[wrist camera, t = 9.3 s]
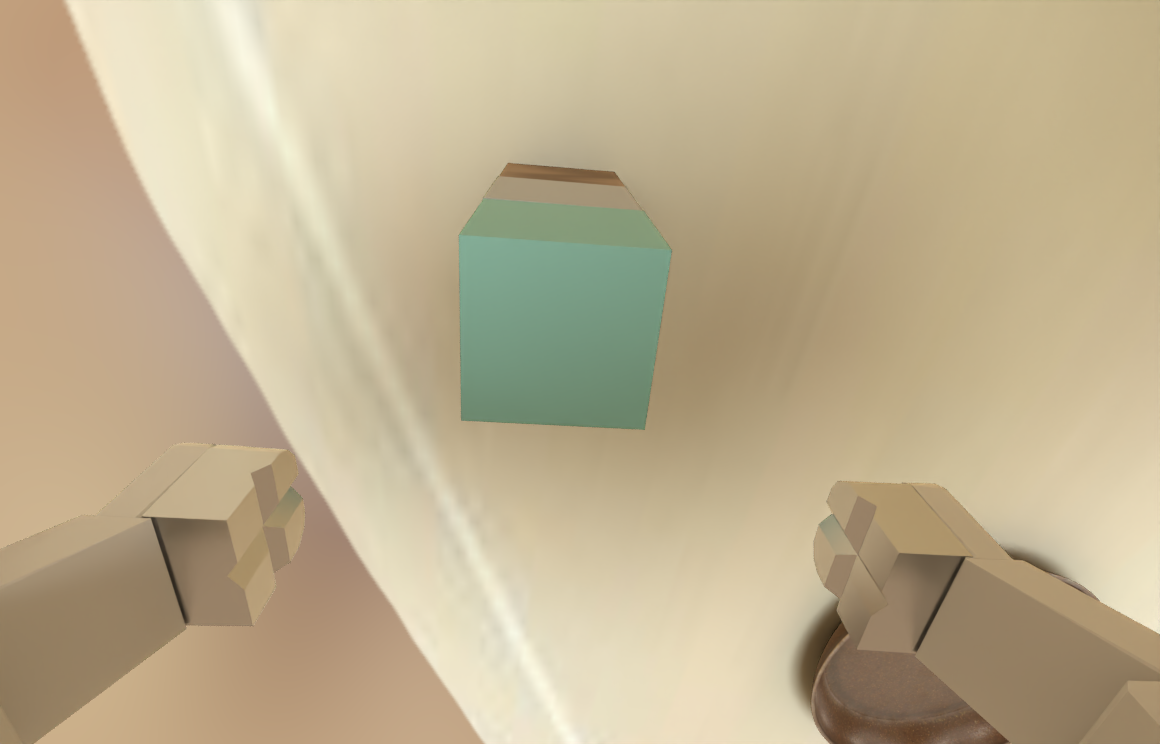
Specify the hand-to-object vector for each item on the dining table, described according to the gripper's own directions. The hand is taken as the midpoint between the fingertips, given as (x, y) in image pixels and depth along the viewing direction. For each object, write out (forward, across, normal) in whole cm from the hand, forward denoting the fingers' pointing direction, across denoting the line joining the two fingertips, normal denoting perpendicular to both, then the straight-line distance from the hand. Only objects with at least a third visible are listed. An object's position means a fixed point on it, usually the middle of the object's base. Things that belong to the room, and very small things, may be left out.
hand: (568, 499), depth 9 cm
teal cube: (+11, 0, 0) cm, 11 cm away
